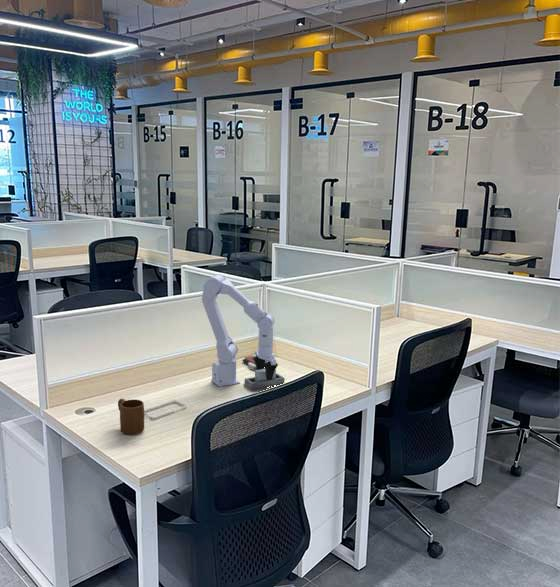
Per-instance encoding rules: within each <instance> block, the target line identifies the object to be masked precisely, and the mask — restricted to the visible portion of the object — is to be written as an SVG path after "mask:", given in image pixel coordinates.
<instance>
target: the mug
mask: <svg viewBox="0 0 560 587" xmlns="http://www.w3.org/2000/svg"><path fill="white" fill-rule="evenodd" d="M144 405H145V404H144V401H143V400H141V399H126V398H125V399H124V398H120V399H118V402H117V407H118V410H119V426H120V427H119V428H120V432H121V433H122V434H123V435H127V436H136V435H139V434H141V433H143V431H144V430H145V414H144V410H145V406H144Z"/></svg>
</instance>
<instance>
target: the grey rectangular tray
mask: <svg viewBox="0 0 560 587" xmlns="http://www.w3.org/2000/svg"><path fill="white" fill-rule="evenodd" d="M283 383H284V384H285V377H284V376H282V375H281V374H279V373H276V379H272V380H264V381H258V382H255V376H253V377H246V378H244V383H243V386H244V387H245V388H247V390H249V391H250V392H258V390H259V391H262V389H263V390H268V389H267V387H269V386H270V387H269V388H270V389H272V388H271V386H272V387H274V385H276V386H277V385H280V384H283Z"/></svg>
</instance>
